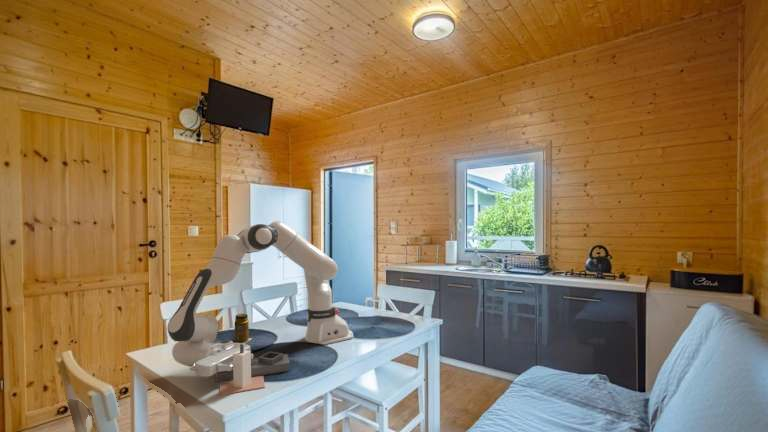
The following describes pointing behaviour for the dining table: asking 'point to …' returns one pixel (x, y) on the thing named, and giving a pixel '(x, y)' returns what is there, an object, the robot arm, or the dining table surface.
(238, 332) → the condiment
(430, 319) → the dining table surface
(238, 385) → the block
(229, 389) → the mat
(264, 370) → the power strip
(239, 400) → the dining table surface
